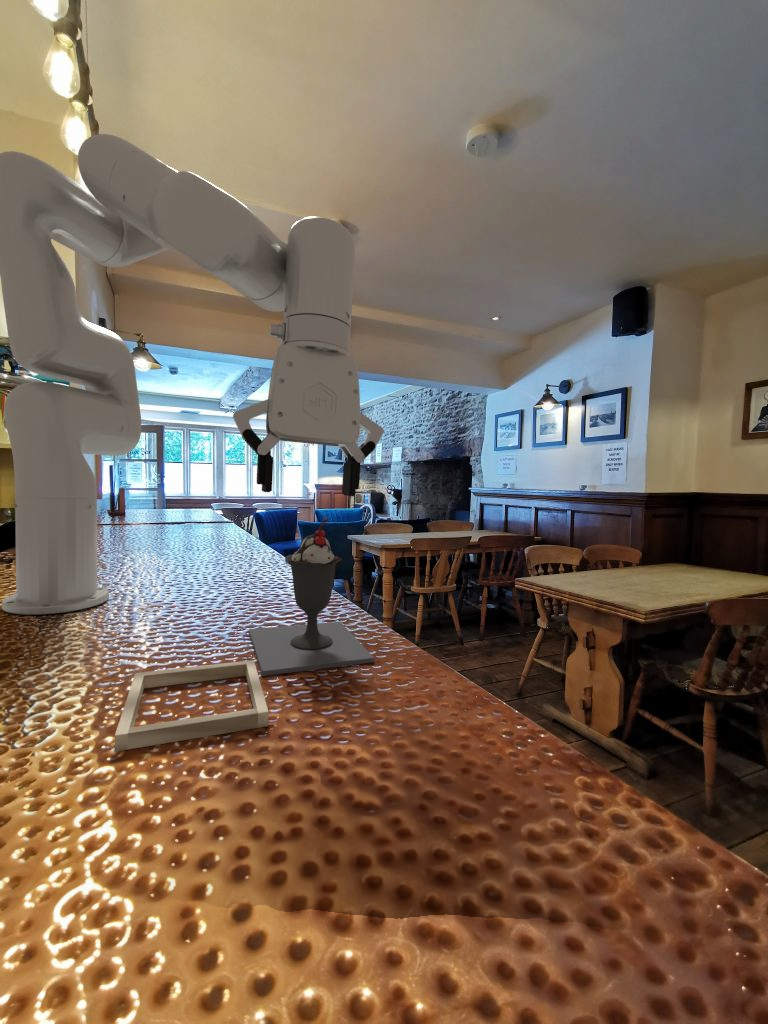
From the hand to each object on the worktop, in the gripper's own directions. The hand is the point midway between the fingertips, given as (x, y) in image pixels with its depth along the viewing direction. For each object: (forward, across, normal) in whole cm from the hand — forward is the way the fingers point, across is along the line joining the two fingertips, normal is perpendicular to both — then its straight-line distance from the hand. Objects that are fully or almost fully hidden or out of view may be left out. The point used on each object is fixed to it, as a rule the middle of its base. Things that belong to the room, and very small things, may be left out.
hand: (308, 493), depth 51 cm
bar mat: (+18, +1, 0) cm, 18 cm away
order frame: (+18, -11, -11) cm, 24 cm away
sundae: (+18, +1, -1) cm, 18 cm away
